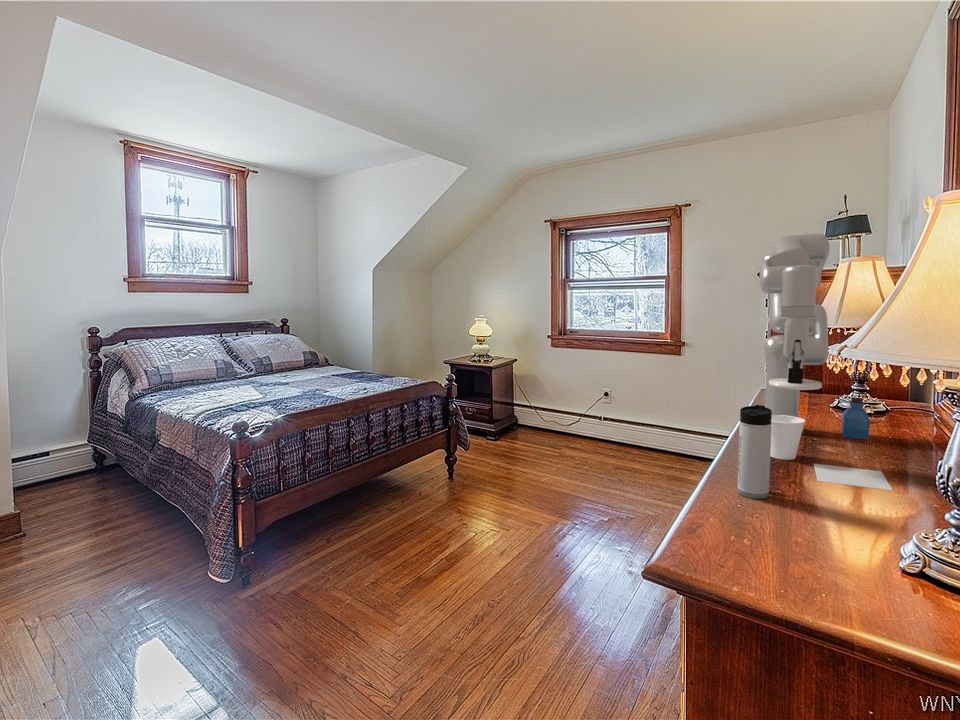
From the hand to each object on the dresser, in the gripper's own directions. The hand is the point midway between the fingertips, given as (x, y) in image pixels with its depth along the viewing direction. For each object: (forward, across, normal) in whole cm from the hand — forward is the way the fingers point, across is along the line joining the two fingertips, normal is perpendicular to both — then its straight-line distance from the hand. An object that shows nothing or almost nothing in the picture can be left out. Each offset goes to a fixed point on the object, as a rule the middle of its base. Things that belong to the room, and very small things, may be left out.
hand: (794, 381), depth 133 cm
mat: (+22, +10, +12) cm, 27 cm away
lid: (+1, 0, 0) cm, 1 cm away
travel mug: (+21, +31, -9) cm, 39 cm away
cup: (+22, -1, -2) cm, 22 cm away
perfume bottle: (+23, -35, +19) cm, 45 cm away
